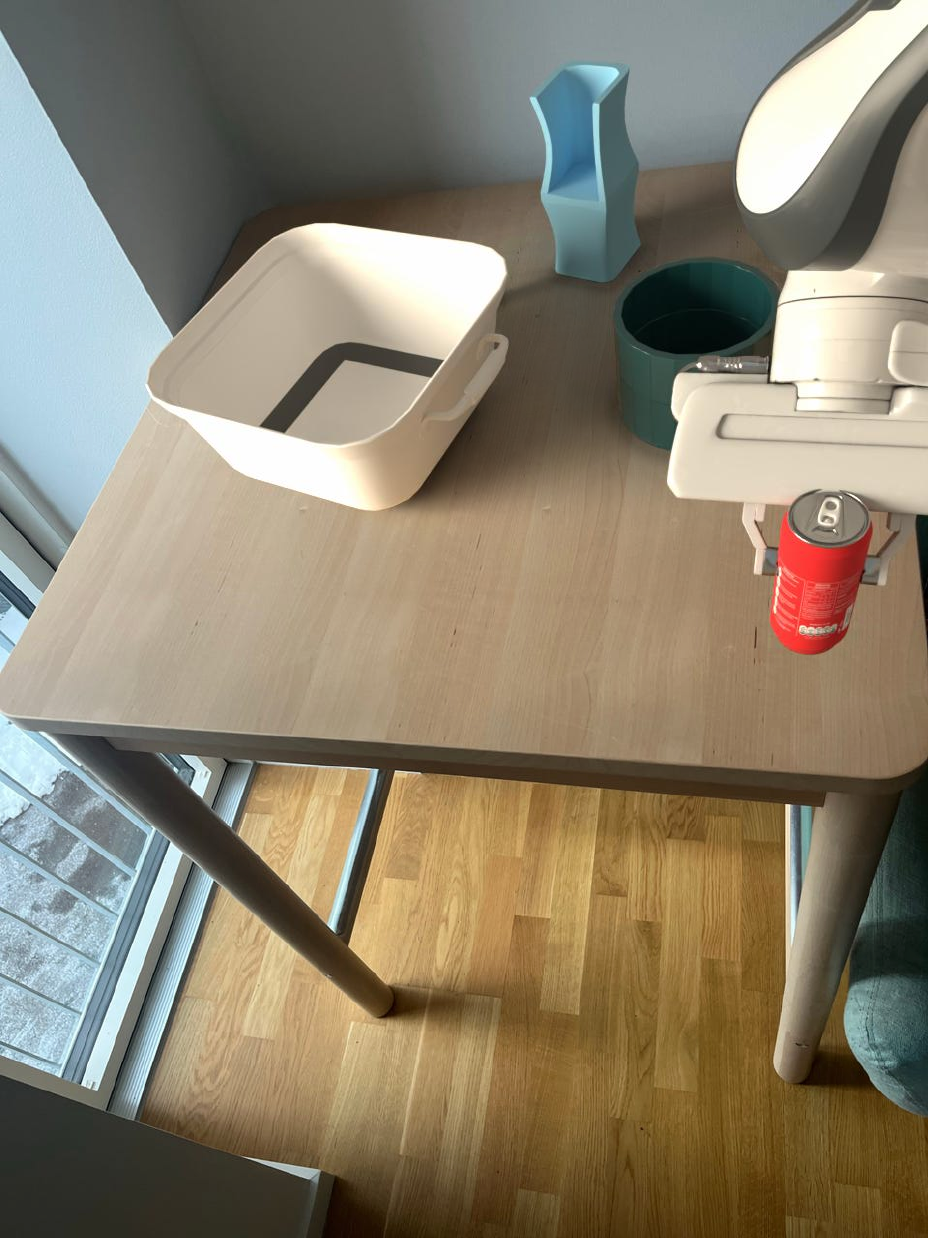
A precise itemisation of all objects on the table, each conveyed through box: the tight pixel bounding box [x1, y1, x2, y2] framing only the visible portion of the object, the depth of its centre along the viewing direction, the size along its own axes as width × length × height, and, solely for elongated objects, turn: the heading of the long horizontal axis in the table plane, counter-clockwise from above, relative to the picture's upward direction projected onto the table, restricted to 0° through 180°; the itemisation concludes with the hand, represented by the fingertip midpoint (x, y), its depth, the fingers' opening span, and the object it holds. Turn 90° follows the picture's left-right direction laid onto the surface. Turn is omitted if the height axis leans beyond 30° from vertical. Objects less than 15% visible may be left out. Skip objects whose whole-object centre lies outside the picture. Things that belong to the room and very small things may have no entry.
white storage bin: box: [145, 222, 510, 512], centre depth 90 cm, size 34×29×15 cm
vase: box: [529, 59, 642, 283], centre depth 99 cm, size 8×8×20 cm
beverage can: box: [769, 489, 874, 656], centre depth 59 cm, size 5×5×12 cm
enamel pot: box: [611, 256, 781, 452], centre depth 86 cm, size 15×15×11 cm
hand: (818, 579), depth 59 cm, fingers closed on beverage can, 5 cm apart
